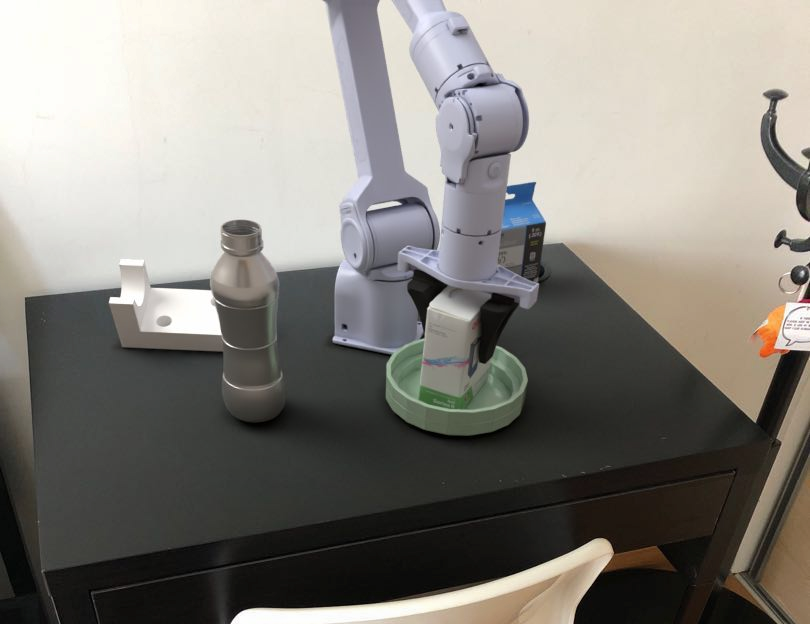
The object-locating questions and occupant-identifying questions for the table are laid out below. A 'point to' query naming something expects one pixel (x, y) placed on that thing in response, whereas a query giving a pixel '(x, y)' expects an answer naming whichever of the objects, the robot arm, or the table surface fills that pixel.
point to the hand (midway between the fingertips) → (459, 350)
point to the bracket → (163, 314)
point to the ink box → (453, 349)
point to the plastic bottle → (248, 324)
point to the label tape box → (522, 233)
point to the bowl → (481, 415)
